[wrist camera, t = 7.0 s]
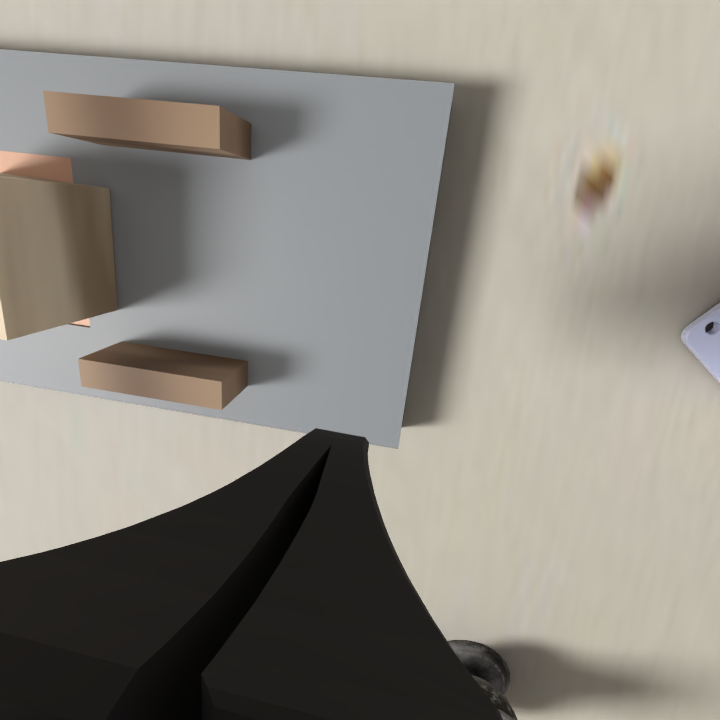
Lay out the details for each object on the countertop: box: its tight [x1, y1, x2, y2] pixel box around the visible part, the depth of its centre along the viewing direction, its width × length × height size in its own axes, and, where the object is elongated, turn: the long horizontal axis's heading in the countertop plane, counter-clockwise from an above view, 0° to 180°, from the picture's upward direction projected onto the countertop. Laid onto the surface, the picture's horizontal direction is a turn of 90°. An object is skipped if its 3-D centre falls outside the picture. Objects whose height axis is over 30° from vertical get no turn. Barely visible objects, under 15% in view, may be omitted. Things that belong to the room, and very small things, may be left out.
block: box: [0, 173, 118, 341], centre depth 15 cm, size 5×5×5 cm
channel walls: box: [43, 91, 252, 410], centre depth 16 cm, size 6×10×2 cm, turn 174°
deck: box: [0, 49, 455, 449], centre depth 18 cm, size 27×14×2 cm, turn 84°
